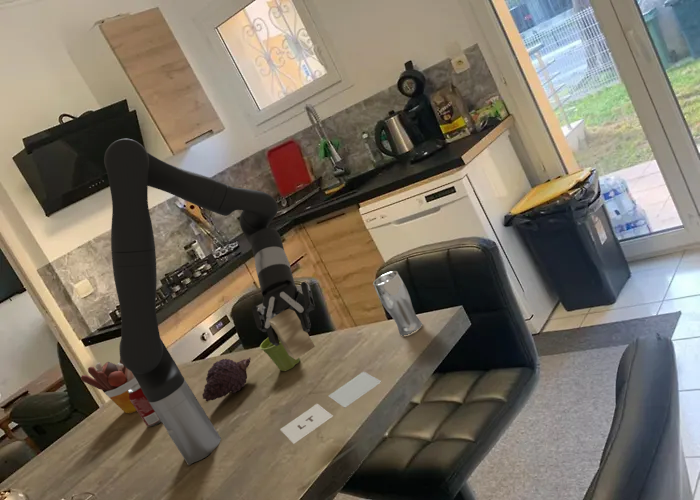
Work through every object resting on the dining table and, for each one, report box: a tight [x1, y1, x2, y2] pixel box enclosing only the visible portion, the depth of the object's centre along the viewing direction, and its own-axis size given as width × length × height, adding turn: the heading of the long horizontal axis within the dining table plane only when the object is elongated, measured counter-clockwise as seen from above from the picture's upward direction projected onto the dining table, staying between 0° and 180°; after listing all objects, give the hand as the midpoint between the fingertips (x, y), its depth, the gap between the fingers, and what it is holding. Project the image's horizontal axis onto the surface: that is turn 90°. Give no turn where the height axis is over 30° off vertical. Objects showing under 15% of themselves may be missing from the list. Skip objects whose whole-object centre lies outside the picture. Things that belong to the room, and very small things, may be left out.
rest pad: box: [328, 371, 382, 408], centre depth 148 cm, size 10×10×1 cm
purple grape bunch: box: [202, 357, 251, 403], centre depth 180 cm, size 18×10×10 cm, turn 140°
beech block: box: [269, 308, 316, 360], centre depth 141 cm, size 5×5×9 cm
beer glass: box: [372, 270, 423, 337], centre depth 162 cm, size 7×7×15 cm
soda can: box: [128, 383, 162, 427], centre depth 188 cm, size 7×7×12 cm
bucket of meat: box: [80, 358, 138, 414], centre depth 208 cm, size 20×16×20 cm
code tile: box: [279, 403, 334, 445], centre depth 143 cm, size 10×10×1 cm
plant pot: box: [259, 337, 301, 372], centre depth 179 cm, size 9×9×9 cm
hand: (291, 337), depth 140 cm, fingers closed on beech block, 7 cm apart
